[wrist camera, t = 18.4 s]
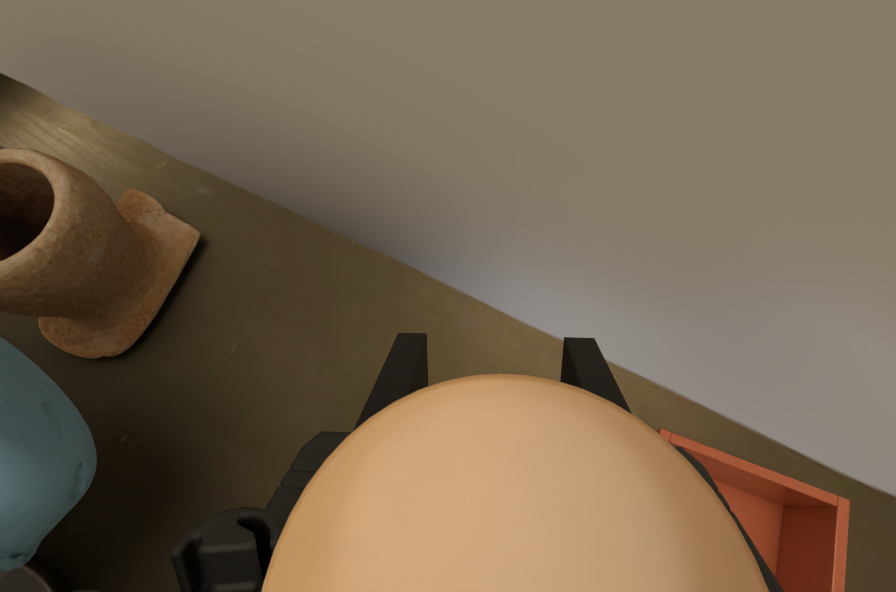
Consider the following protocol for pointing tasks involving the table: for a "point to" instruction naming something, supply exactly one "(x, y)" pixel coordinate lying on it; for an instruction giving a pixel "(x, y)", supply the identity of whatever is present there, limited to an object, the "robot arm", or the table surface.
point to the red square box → (781, 518)
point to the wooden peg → (509, 501)
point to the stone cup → (84, 254)
